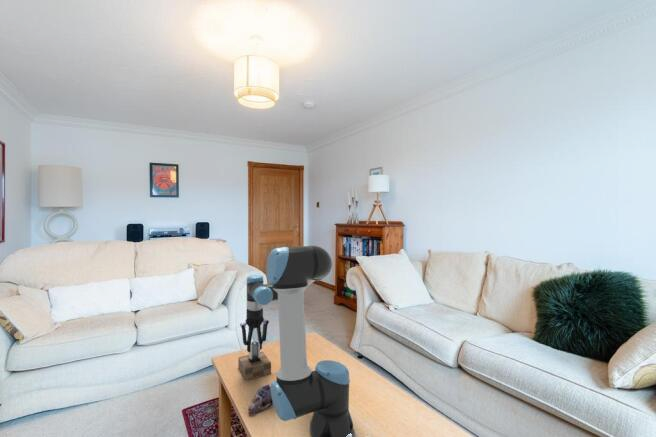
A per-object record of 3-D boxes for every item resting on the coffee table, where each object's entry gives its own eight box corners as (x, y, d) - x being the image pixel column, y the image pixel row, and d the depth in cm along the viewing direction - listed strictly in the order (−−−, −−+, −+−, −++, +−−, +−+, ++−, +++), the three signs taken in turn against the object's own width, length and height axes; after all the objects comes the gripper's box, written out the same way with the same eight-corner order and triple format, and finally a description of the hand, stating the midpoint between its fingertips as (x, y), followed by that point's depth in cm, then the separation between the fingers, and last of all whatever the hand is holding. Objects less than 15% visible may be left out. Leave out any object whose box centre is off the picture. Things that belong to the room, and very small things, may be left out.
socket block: (270, 372, 142) (271, 362, 142) (245, 380, 136) (245, 369, 136) (262, 361, 152) (262, 351, 152) (238, 367, 146) (238, 357, 146)
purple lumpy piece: (254, 418, 112) (254, 402, 111) (241, 409, 116) (241, 394, 116) (278, 402, 121) (278, 387, 121) (265, 394, 126) (265, 380, 126)
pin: (258, 364, 143) (258, 343, 143) (252, 365, 142) (252, 344, 141) (256, 361, 146) (256, 340, 146) (250, 362, 145) (250, 342, 144)
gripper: (268, 303, 150) (268, 350, 151) (235, 308, 142) (235, 357, 143) (273, 308, 144) (273, 356, 145) (239, 313, 135) (239, 365, 137)
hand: (254, 357), depth 144 cm, fingers closed on pin, 3 cm apart
